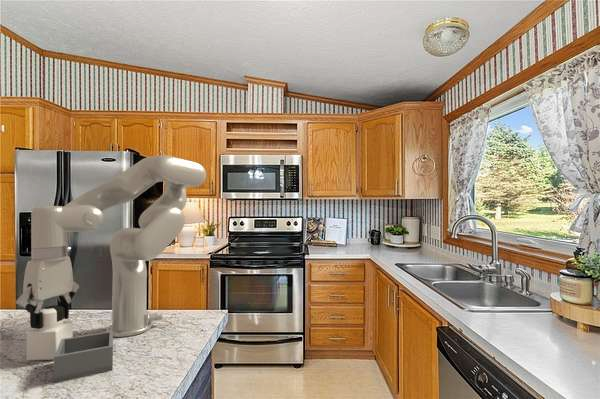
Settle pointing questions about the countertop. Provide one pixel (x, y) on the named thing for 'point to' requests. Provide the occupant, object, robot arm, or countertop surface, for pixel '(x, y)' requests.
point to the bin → (83, 356)
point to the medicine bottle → (48, 334)
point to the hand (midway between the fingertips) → (50, 322)
